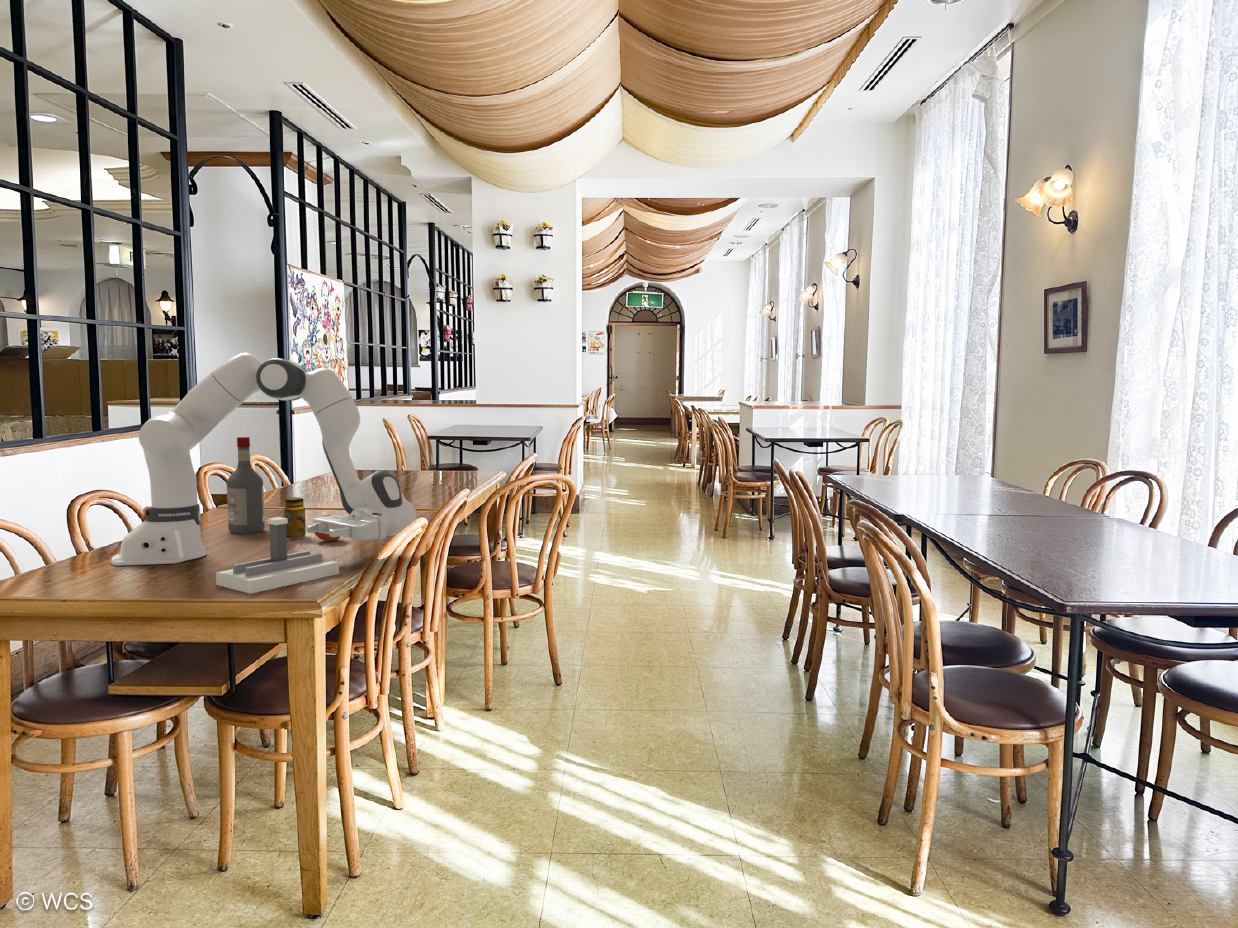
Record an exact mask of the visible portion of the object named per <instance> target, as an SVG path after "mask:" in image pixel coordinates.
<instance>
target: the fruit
mask: <svg viewBox="0 0 1238 928" xmlns="http://www.w3.org/2000/svg"><path fill="white" fill-rule="evenodd" d="M326 516H332V515H330V514H326V515H323V516H322V517H326ZM314 535H315V536H316V537H317V538H318V539H319V540H321V541H325V542H336V541H339V539H341V537H330V534H326V533H320V532H315V533H314Z"/></svg>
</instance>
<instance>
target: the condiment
mask: <svg viewBox="0 0 1238 928" xmlns="http://www.w3.org/2000/svg"><path fill="white" fill-rule="evenodd" d="M304 503H305V502H304V497H296V496H295V497H287V498H285V503H284V505H285V507H284V508H283V513H284V514H283V515H284V516H283V518H287V519H288V523H287V524H286V538H287V540H294V539H302V538H303V539H305V538H311V535H308V536H306V535H307V525H306V507H305V504H304Z"/></svg>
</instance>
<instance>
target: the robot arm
mask: <svg viewBox="0 0 1238 928" xmlns="http://www.w3.org/2000/svg"><path fill="white" fill-rule="evenodd" d="M259 391H261V392H262V393H263V394H265V395H266V396H268V397H270V398H273V399H276V400H278V401H297V400H300V399H303V400H304V401H305V402H306V403H307V404H308V406H309V407H310V409H311V412H312V413H313V415H314V417H315V419H316V421H317V423H318V426H319V429H320V432H321V436H322V437H321V438H322V442H321V443H322V448H323V452H324V454H325V457H326V460H327V462H328V464H329V467H330V469H331V473H332V475H333V477H334V479H335V481H336V485H337V488H338V490H339V496H340V501H341V505H342V507H343V509H344V510H345V512H346V513H347V515H348V516H342V515H331V516H326V517H323V516H320V517H314V518H313V519H312V524H310V525H309V524H308V525H306V533H309V534H312V533H314V534H315V532H320V533H326V534H330V537H340V538H341V537H342V538H348V539H353V540H356V541H359V542H364V541H365V542H366V541H372V540H375V541H381V540H385V539H386V537H390V536H395V535H399V534H400V533H399V532H401V531H402V530H403V529H404V528H405V527H406V526H407V525H410V524H411V523H412V522H413V521H414V520H415V521H416V519H417V512H416V508H415V506H414V505H413V503H411V502H409V501H408V500H407V499H406V498H405V496H404V495H403V492H402V491H401V485H400V483H399V481H398V479H397V478H396V476H394V475H393V474H392V473H391V472H390V471H387V470H377V471H374V472H373V473H371V474H370V475H368V476H366V477H365V478H363V479H360V478H359V476H358V474H357V470H356V469H355V468H356V467H355V465H354V463H353V461H352V459H351V456H350V454H351V453H350V446H351V443H352V440H353V438H354V437H355V434H356V432H358V429H359V427H360V423H361V415H360V414H361V413H360V411H359V408H358V406H357V405H356V403H355V400H354V399H353V397H352V395H351V393H350V392H349V390H348V388H347V387H346V386H345V384H344V382H343V381H342V380H341V378H340V377H339V376H338V375H337V374H336V372H334V370H332V369H330V368H324V367H323V368H317V369H315V370H312V371H307V370H306V369H305V368H304V367H303V366H302V365H300V364H298V362H297V363H296V362H295V361H293V360H290V359H286V358H285V359H284V358H280V357H274V358H270V359H267V360H265V361H262V360H260V359H259V358H258V357H257V356H256V355H254V354H252V353H249V352H241V353H238V354H237V355H234V356H232V357H231V358H228V360H226V361H224V362H222V363H221V364H220V365H219V366H218V367H217V366H216V368H215V369H213V371H211V372H210V373H209V374H207V375H206V376H205V377H204V378H203V379H202V380H200V381H199V382H198V383H197V384H195V386H193V387H192V388H191V389H189V390H188V391H187V394H185V396H184V397H183V398H182V399H181V400H180V401H179V402H178V403H177V404H176V405H175V406H174V408H172V409H171V410H170V411H169V412H167V413H165V414H159V415H155V416H153V417H150V418H149V419H148V420H147V421H146V422H145V423H144V424H143V425H142V426H141V428H140V429H139V432H138V441H139V444H140V446H141V448H142V450H143V454H144V458H145V462H146V466H147V470H148V475H149V482H150V485H149V486H150V498H151V499H150V501H151V506H150V505H149V506H145V507H144V508H142V509H143V510H142V512H143V513H142V517H143V520H144V521H143V522H142V523H140V524H139V525H137V526H136V527H134V529H132V530H131V531H130V532H128V533H126V535H125V536H124V537H123V539H122V541H121V544H120V551H119V553H117V554H115V555H113V556H112V557H111V561H110V563H111V564H112V566H137V565H138V566H139V565H140V566H141V565H164V564H167V565H168V564H178V563H182V562H185V561H190V560H194V559H195V560H196V559H198V558H202V557H205V556H206V555H207V551H206V548H205V545H204V542H203V537H202V532H201V526H200V524H201V520H202V517H201V508H200V504H199V503H198V502H199V501H198V486H197V485H198V484H197V483H198V481H197V473H196V472H195V470H194V467H193V463H192V462H193V461H192V458H191V452H190V450H192V449H194V448H195V447H196V446H197V445H198V444H199V443H200V442H201V441H202V440H203V439H204V438H206V437H207V436H208V435H209V434H210V433H211V432H212V430H214V428H216V427H217V426H218V424H220V423H221V421H223V420H224V419H225V418H226V417H227V416H229V415H230V414H231V413H232V412H233V411H235V410H236V409H237V408H238V407H239V406H241V405H242V404H243V403H244V402H245V401H246V400H247V399H248V398H250V397H251V396H252V395H253V394H255V393H257V392H259ZM398 533H399V534H398Z"/></svg>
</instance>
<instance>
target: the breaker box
mask: <svg viewBox="0 0 1238 928" xmlns="http://www.w3.org/2000/svg"><path fill="white" fill-rule="evenodd" d="M269 559H271V557H268V558H267V557H266V558H262V559H256V560H252V561H251V560H250V561H245V562H240V563H235V564H232V569H231V568H230V569H227V570H222V571H216V572H215V576H216V578H215V579H216V580H215V582H216V586H220V587H223V586H224V587H223V588H227V589H231V590H234V591H235V590H236V591H239V592H242V593H245V594H249V595H251V594H255V593H259V592H260V591H261V592H264V591H268V590H273V589H278V587H279V588H282V586H283V587H286V586H290V585H297V584H301V583H305V582H309V581H313V580H317V579H318V580H319V579H322V578H327V577H331V576H334V575H339V574H340V562H339V561H335V560H331V559H326V558H323V553H320V552H318V553H314V554H311V551H310V550H303V551H298V552H294V553H293V552H292V553H287V559H286V560H281V561H276V562H271V563H270V560H269ZM300 582H301V583H300Z"/></svg>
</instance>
